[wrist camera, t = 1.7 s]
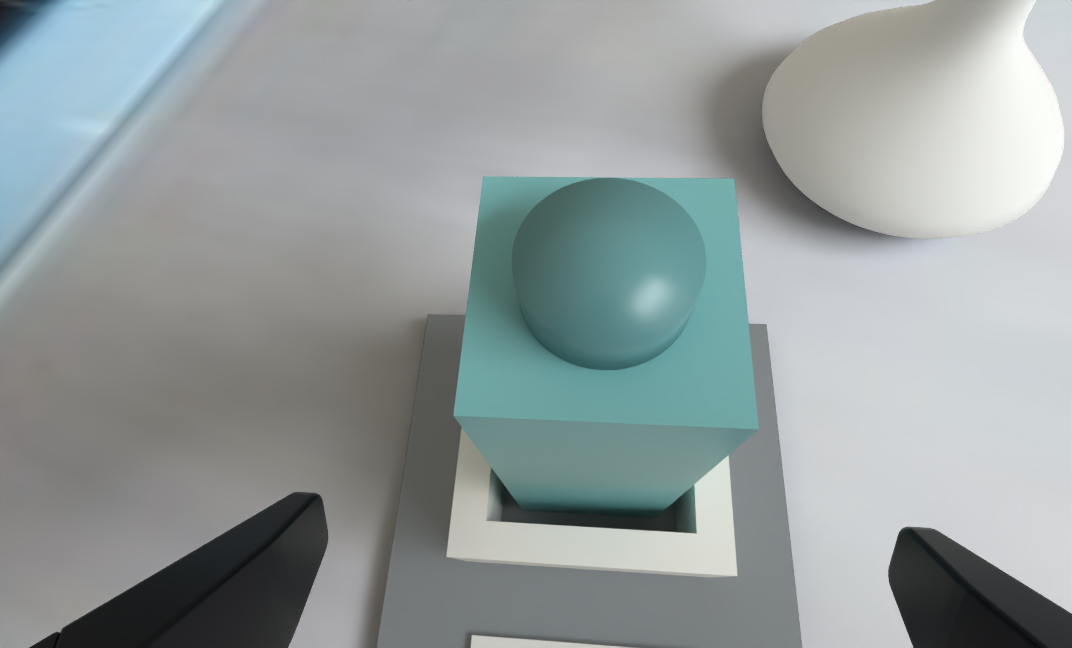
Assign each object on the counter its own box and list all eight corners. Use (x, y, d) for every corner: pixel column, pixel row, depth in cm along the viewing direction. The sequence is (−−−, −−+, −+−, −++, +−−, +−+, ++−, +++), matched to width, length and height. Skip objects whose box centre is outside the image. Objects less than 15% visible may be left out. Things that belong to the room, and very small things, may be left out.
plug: (654, 518, 19) (781, 409, 7) (522, 510, 19) (438, 395, 8) (652, 390, 21) (750, 137, 9) (531, 386, 21) (473, 137, 9)
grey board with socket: (836, 1024, 14) (923, 1173, 11) (335, 959, 16) (260, 1074, 12) (761, 330, 22) (797, 280, 19) (431, 320, 23) (404, 271, 20)
